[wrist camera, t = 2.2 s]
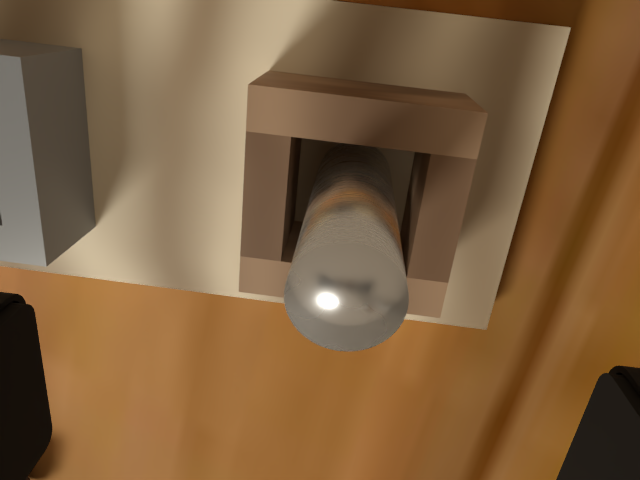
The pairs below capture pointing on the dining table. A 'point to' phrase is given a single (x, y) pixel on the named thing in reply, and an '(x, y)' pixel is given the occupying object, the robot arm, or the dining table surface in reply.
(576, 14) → the dining table surface
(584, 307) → the dining table surface
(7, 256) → the gray square socket
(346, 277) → the metal peg
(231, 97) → the socket board
